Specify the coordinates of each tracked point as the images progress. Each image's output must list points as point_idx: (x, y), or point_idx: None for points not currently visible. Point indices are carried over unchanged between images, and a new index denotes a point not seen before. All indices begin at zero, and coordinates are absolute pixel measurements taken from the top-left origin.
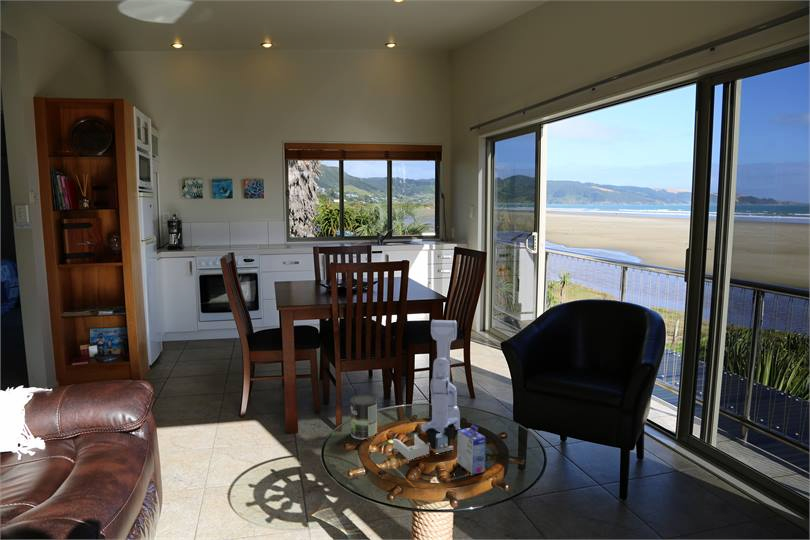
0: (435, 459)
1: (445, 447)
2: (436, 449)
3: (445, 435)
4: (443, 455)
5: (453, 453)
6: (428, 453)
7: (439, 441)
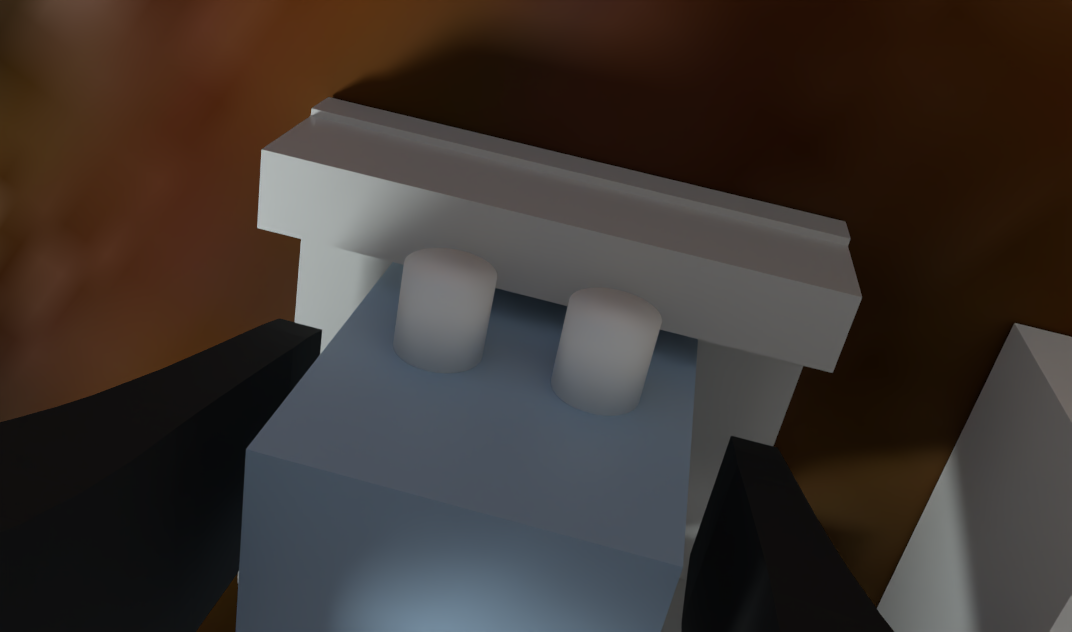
0: (1003, 117)
1: None
2: (785, 352)
3: (245, 569)
4: (648, 146)
5: (358, 54)
6: (1064, 383)
7: (624, 480)
